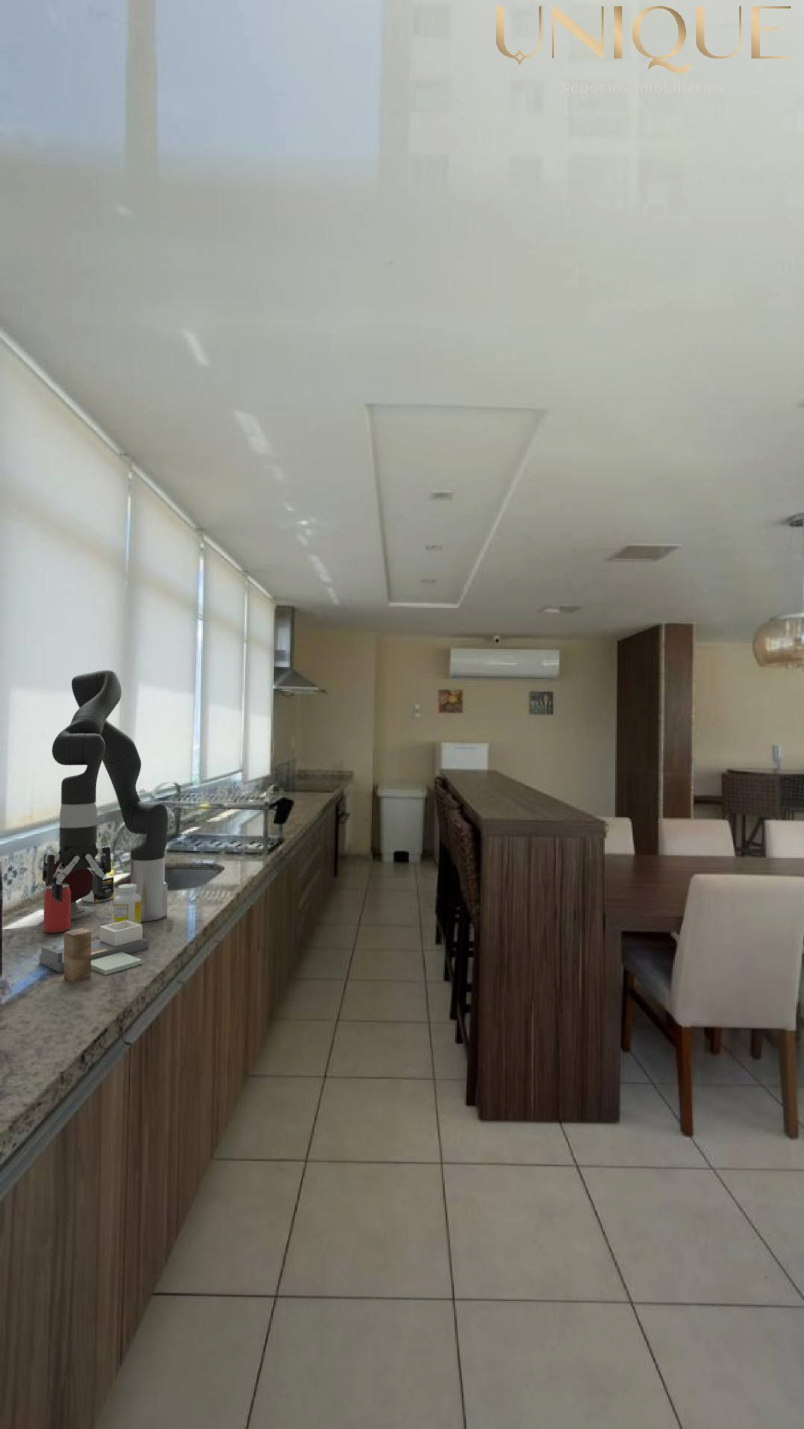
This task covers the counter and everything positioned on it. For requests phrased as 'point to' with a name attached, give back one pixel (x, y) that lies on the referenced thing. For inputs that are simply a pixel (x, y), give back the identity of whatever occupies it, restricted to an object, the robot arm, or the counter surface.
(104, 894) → the medicine bottle
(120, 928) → the tab
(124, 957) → the tool rest
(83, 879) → the mate gourd
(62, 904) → the beer can
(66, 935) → the peg
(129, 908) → the supplement bottle
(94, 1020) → the counter surface
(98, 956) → the switch panel
